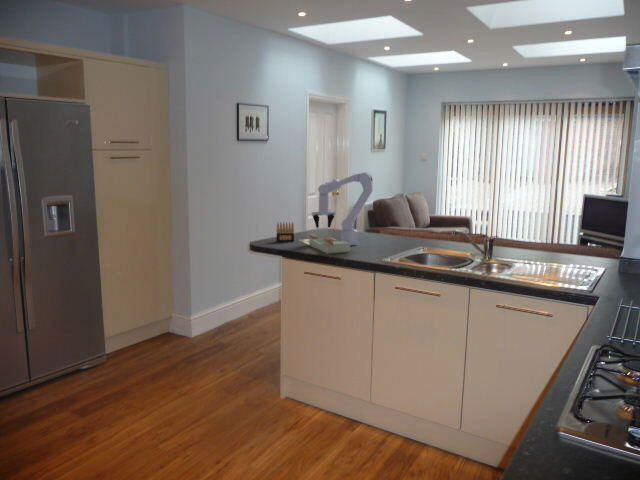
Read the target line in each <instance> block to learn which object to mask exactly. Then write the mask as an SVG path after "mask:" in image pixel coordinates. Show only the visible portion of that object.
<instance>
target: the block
mask: <svg viewBox="0 0 640 480" xmlns="http://www.w3.org/2000/svg"><path fill="white" fill-rule="evenodd" d="M323 238H324V243H325V244H327V245H333V239H332V238H333V237H329V236H328V237H323Z"/></svg>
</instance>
